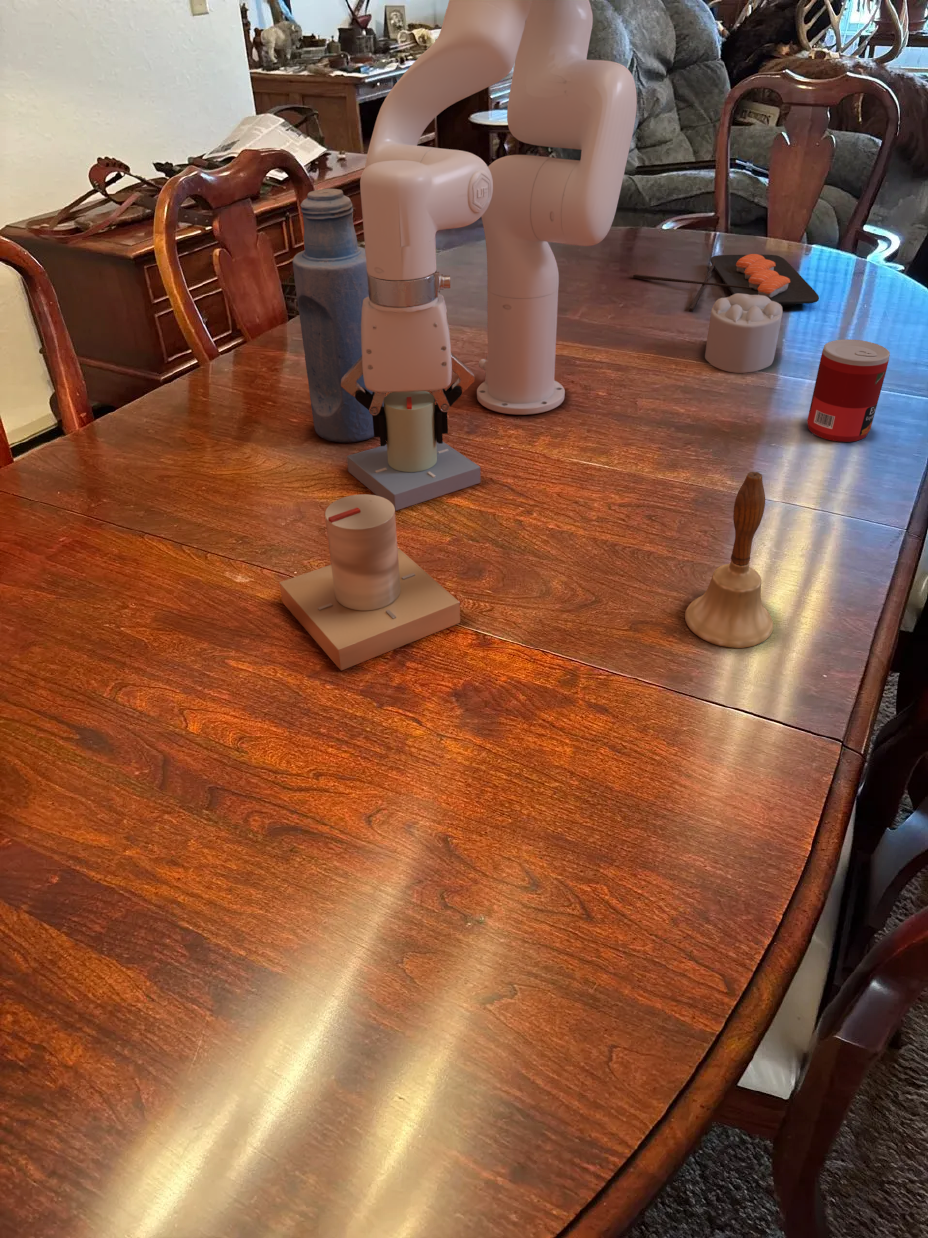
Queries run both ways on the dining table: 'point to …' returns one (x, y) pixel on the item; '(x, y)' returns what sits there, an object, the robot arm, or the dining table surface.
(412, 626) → the birch turntable
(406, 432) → the green dial knob
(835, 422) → the canned food
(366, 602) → the beige banded cylinder
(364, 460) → the blue-grey dial base
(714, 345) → the lumpy-topped squat cylinder
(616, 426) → the dining table surface
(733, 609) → the hand bell
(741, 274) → the sushi plate
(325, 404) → the bottle
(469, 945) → the dining table surface
